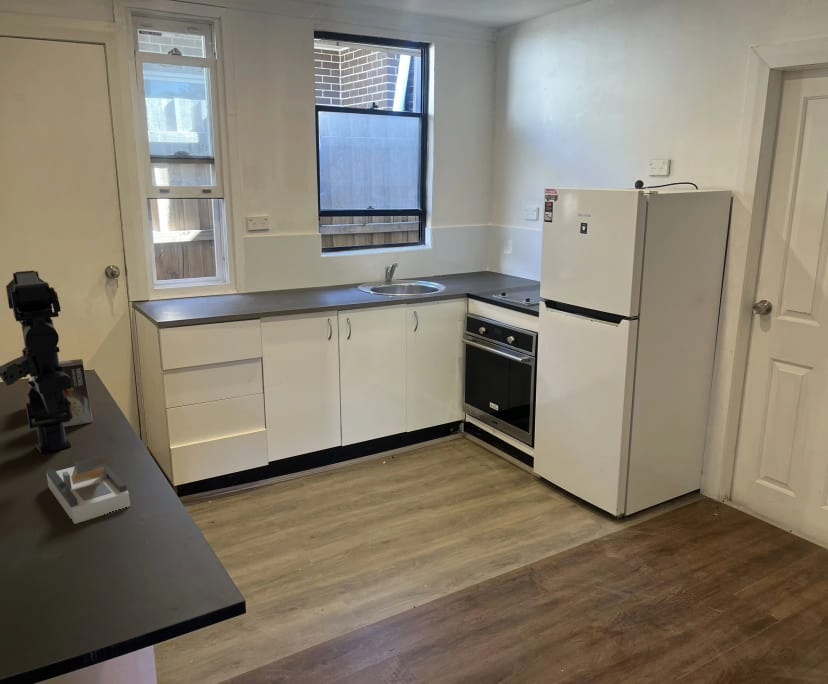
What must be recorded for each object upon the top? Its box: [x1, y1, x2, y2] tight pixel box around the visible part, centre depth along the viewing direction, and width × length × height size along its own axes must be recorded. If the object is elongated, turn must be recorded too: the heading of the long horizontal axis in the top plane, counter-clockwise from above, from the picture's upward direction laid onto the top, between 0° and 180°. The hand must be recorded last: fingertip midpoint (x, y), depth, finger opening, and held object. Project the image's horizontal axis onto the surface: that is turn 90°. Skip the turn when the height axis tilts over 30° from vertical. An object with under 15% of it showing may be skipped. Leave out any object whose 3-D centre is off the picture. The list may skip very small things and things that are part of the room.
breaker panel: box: [46, 464, 131, 525], centre depth 131 cm, size 20×10×6 cm, turn 41°
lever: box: [71, 454, 108, 485], centre depth 128 cm, size 2×5×8 cm
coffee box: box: [56, 358, 93, 428], centre depth 171 cm, size 9×6×16 cm
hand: (51, 413), depth 142 cm, fingers closed
